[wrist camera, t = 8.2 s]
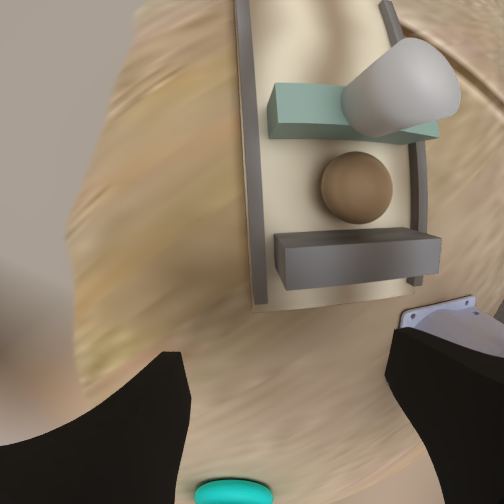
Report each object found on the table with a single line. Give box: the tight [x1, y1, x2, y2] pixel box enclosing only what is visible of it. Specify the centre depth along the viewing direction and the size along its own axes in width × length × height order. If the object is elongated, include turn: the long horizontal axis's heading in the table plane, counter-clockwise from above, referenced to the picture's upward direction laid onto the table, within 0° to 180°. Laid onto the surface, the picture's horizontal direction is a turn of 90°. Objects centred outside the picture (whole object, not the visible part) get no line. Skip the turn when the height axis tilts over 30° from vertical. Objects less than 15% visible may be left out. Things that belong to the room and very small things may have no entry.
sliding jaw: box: [266, 38, 461, 145], centre depth 10 cm, size 9×3×9 cm, turn 93°
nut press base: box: [234, 0, 442, 313], centre depth 14 cm, size 12×24×6 cm, turn 3°
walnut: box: [321, 151, 393, 224], centre depth 14 cm, size 4×4×4 cm
